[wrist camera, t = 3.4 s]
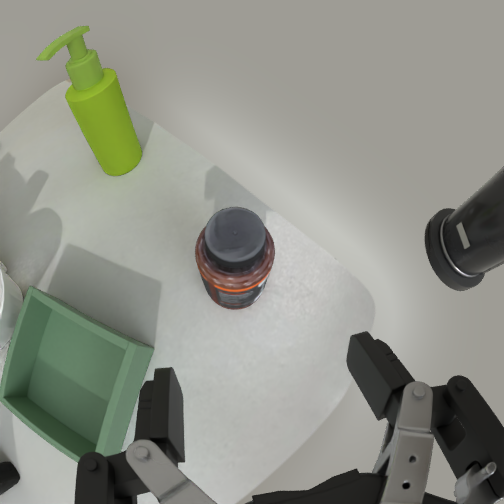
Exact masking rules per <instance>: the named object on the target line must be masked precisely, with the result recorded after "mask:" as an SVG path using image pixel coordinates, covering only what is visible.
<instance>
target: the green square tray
mask: <svg viewBox="0 0 504 504" xmlns="http://www.w3.org/2000/svg"><path fill="white" fill-rule="evenodd" d="M153 351H154V348H152V347H150V346H148V345H146V344H143V343H141V342H139V341H137V340H135V339H133V338H130V337H128V336H126V335H124V334H122V333H120V332H118V331H116V330H114V329H112V328H110V327H108V326H106V325H104V324H102V323H100V322H98V321H96V320H94V319H92V318H91V317H89V316H87V315H85V314H83V313H81V312H80V311H78V310H76V309H74V308H73V307H71V306H69V305H67V304H66V303H64V302H62V301H60V300H59V299H57V298H55V297H53V296H51V295H49V294H47V293H45V292H43V291H41V290H38V289H36V288H34V287H32V286H29V289H28V291H27V294H26V296H25V299H24V302H23V305H22V307H21V310H20V313H19V316H18V319H17V322H16V325H15V329H14V332H13V335H12V339H11V342H10V346H9V349H8V353H7V357H6V361H5V366H4V370H3V375H2V379H1V385H0V401H1V402H2V403H3V404H4V405H5V406H6V407H7V408H8V409H9V410H10V411H11V412H12V413H13V414H14V415H15V416H17V417H18V418H19V419H20V420H21V421H22V422H23V423H25V424H26V425H27V426H28V427H29V428H31V429H32V430H33V431H34V432H35V433H37V434H38V435H39V436H41V437H42V438H43V439H44V440H46V441H47V442H48V443H50V444H51V445H53V446H54V447H55V448H57V449H58V450H59V451H61V452H62V453H64V454H65V455H67V456H68V457H70V458H71V459H73V460H74V461H76V462H77V463H78V461H79V459H80V458H81V457H82V456H83V455H84V454H85V453H88V452H98V453H100V454H102V455H103V456H104V457H106V456H110V455H114V454H118V453H120V452H121V448H122V445H123V442H124V438H125V435H126V432H127V428H128V425H129V422H130V419H131V416H132V412H133V409H134V406H135V403H136V400H137V397H138V394H139V391H140V388H141V385H142V382H143V379H144V376H145V374H146V371H147V368H148V365H149V362H150V359H151V357H152V354H153Z"/></svg>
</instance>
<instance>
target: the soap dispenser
mask: <svg viewBox="0 0 504 504" xmlns="http://www.w3.org/2000/svg"><path fill="white" fill-rule="evenodd" d="M87 31H89V26H80V27H76V28H74V29H73V30H71V31H69V32H67V33H65V34H64V35H62V36H60V37H59V38H58V39H56V40H55V41H53V42H52V43H51V44H50V45H49V46H48V47H46V48H45V50H44V51H43V52H42V53H41V54H40V55H39V56H38V57H37V59H36V60H50V58H51V57H52V56H53V55H54V54H55V53H56V52H57V51H59V50H60V49H61V48H62V47H63V46H65V45H67V47H68V50H69V53H70V56H71V58H70V60H69V61H68V62H67V63H66V69H67V72H68V74H69V76H70V79H71V82H72V85H71V86H70V87H69V88H68V90H67V92H66V95H65V97H66V100H67V102H68V104H69V106H70V108H71V110H72V112H73V114H74V116H75V118H76V120H77V122H78V124H79V126H80V128H81V130H82V132H83V134H84V136H85V138H86V140H87V142H88V143H89V145H90V147H91V149H92V151H93V153H94V154H95V156H96V158H97V160H98V162H99V163H100V165H101V167H102V169H103V170H104V172H105V173H106V174H108V175H111V176H119V175H123V174H125V173H128V172H129V171H131V170H132V169H133V168H135V167H136V166H137V164H138V163H139V161H140V160H141V157H142V150H141V147H140V144H139V142H138V139H137V136H136V133H135V130H134V127H133V124H132V122H131V119H130V116H129V113H128V110H127V107H126V104H125V101H124V97H123V94H122V91H121V88H120V85H119V82H118V79H117V75H116V72H115V71H114V70H113V69H110V68H104V69H102V67H101V64H100V62H99V58H98V55H97V52H96V51H95V50H89V49H86V46H85V42H84V40H83V36H82V34H84V33H86V32H87Z"/></svg>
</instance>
